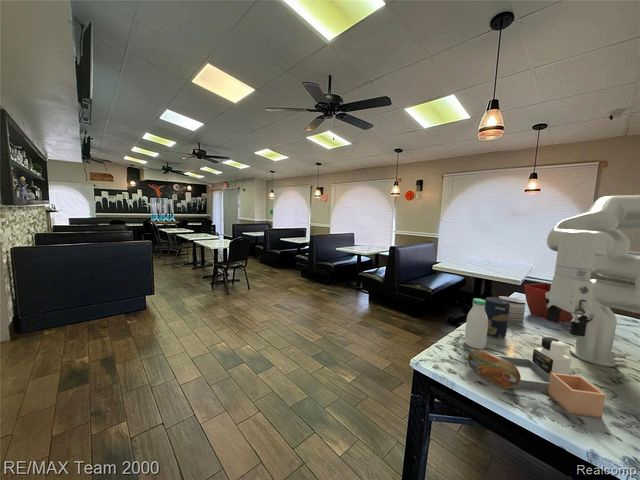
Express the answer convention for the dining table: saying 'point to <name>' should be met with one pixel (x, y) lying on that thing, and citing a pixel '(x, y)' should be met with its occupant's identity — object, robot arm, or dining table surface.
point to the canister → (497, 316)
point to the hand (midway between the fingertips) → (563, 327)
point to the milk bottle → (477, 325)
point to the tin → (494, 369)
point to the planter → (576, 395)
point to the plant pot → (542, 302)
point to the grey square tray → (529, 373)
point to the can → (515, 310)
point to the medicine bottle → (552, 356)
